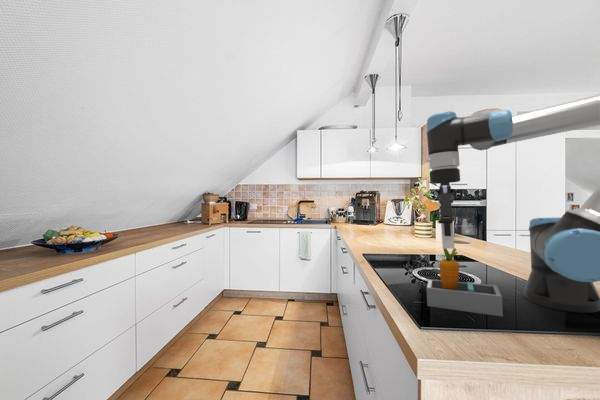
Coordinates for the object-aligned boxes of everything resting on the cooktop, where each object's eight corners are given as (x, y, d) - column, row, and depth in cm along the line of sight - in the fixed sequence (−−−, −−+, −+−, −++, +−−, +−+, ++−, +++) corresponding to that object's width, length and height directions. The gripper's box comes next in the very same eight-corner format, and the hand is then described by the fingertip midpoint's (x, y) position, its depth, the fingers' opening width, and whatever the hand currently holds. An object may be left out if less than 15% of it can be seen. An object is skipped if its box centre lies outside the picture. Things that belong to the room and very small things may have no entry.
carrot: (456, 296, 78) (455, 245, 78) (462, 303, 73) (461, 249, 73) (438, 295, 80) (437, 245, 79) (442, 302, 75) (441, 248, 74)
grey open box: (497, 303, 75) (496, 285, 75) (502, 316, 67) (502, 296, 67) (429, 295, 83) (428, 279, 83) (427, 306, 75) (426, 288, 75)
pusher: (472, 298, 76) (472, 282, 76) (474, 306, 71) (473, 289, 71) (467, 297, 77) (467, 282, 77) (469, 305, 72) (468, 288, 72)
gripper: (432, 173, 89) (436, 237, 89) (425, 166, 67) (431, 251, 67) (458, 170, 85) (462, 237, 85) (460, 163, 64) (466, 253, 64)
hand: (448, 244), depth 76 cm, fingers open, 13 cm apart
